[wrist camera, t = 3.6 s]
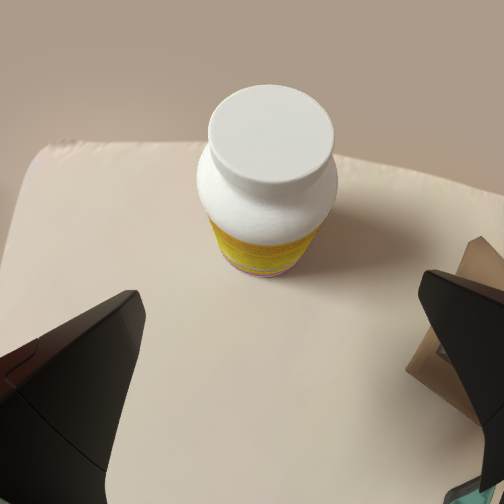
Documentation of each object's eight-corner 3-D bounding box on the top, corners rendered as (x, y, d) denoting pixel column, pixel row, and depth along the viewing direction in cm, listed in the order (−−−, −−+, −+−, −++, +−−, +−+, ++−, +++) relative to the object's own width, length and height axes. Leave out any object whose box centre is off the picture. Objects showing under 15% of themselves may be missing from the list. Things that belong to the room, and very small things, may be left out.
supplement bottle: (316, 268, 22) (387, 196, 10) (226, 287, 22) (192, 232, 9) (294, 186, 24) (327, 63, 11) (211, 202, 23) (174, 83, 11)
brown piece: (481, 426, 18) (521, 439, 12) (405, 370, 20) (447, 379, 14) (531, 311, 21) (571, 303, 15) (468, 242, 23) (510, 221, 17)
